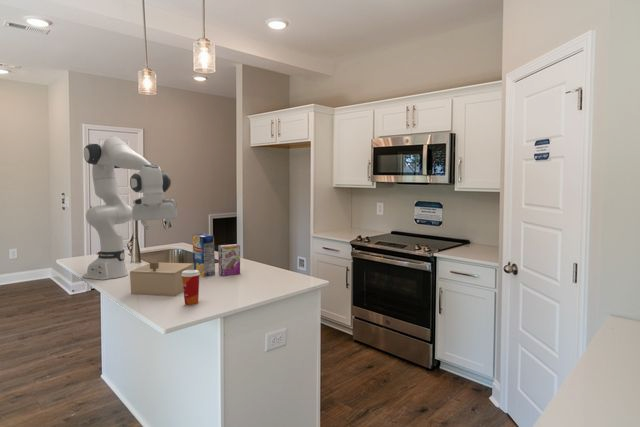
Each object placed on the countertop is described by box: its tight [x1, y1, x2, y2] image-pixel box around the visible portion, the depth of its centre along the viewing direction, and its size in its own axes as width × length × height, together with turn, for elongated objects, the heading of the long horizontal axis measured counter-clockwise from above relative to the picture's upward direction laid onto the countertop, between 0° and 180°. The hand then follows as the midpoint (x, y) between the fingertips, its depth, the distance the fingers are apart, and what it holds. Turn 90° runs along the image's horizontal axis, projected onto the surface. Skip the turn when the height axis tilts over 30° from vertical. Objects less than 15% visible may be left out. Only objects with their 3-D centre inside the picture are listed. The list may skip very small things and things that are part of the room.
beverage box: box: [191, 233, 216, 278], centre depth 231 cm, size 7×11×22 cm, turn 47°
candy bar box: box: [217, 243, 241, 277], centre depth 231 cm, size 11×5×16 cm, turn 124°
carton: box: [129, 265, 194, 297], centre depth 202 cm, size 22×20×10 cm
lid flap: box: [129, 261, 194, 274], centre depth 201 cm, size 22×20×5 cm
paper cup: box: [181, 270, 200, 306], centre depth 180 cm, size 8×8×14 cm
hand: (156, 229), depth 194 cm, fingers open, 8 cm apart
